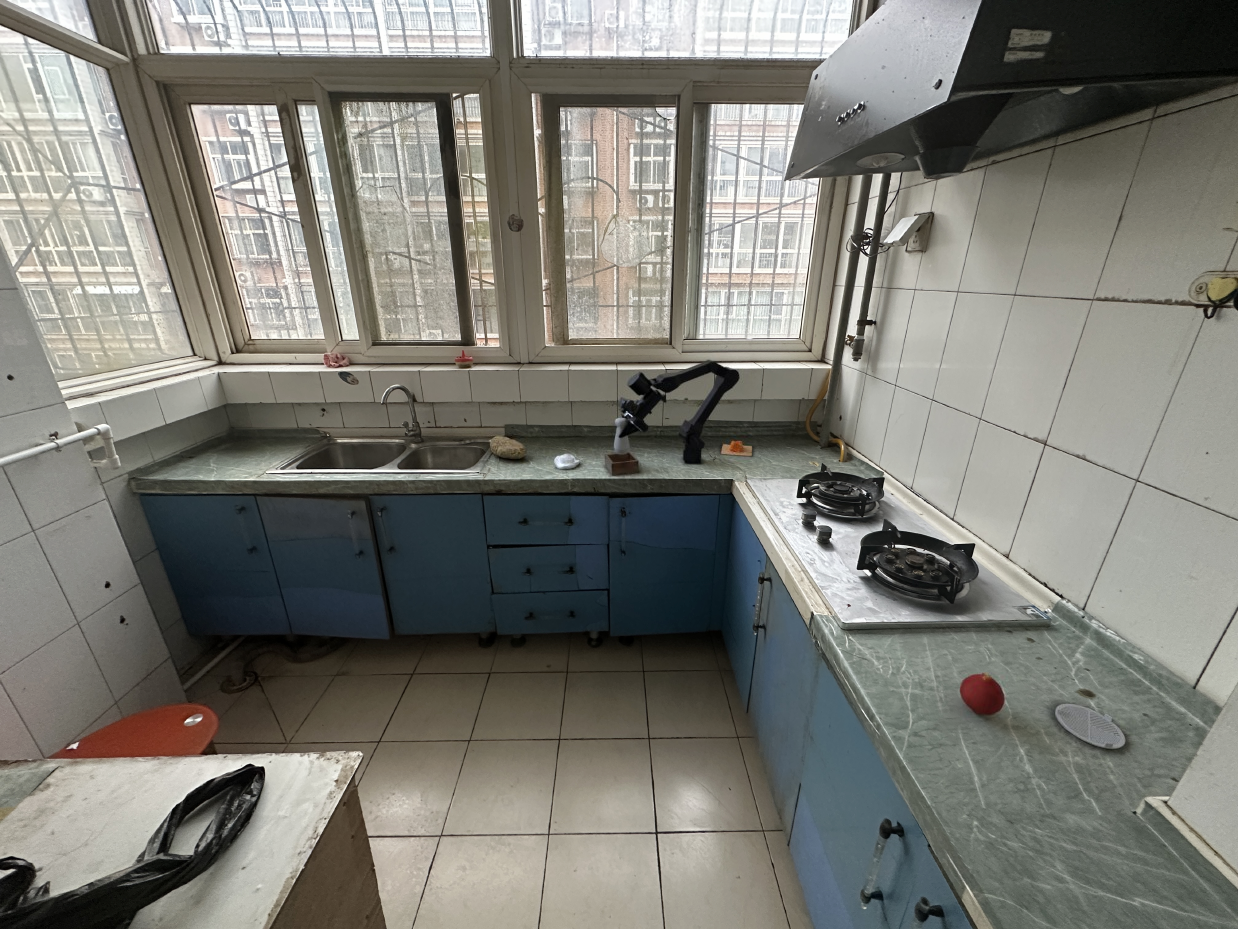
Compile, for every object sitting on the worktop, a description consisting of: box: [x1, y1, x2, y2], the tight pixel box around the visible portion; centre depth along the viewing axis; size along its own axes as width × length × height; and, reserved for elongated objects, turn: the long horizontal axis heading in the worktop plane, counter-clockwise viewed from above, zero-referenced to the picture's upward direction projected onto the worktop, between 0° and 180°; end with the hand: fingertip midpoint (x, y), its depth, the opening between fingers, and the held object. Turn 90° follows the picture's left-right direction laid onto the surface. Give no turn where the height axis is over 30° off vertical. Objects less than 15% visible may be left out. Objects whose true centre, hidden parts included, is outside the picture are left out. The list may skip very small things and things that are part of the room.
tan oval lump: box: [489, 435, 527, 460], centre depth 199 cm, size 13×8×20 cm
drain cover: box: [1054, 703, 1126, 750], centre depth 79 cm, size 8×8×1 cm
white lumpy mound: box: [553, 453, 581, 470], centre depth 189 cm, size 10×4×10 cm
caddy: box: [604, 451, 640, 476], centre depth 185 cm, size 10×10×5 cm
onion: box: [959, 672, 1006, 716], centre depth 81 cm, size 6×6×8 cm
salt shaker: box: [613, 417, 631, 455], centre depth 181 cm, size 6×6×13 cm
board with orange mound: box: [720, 440, 753, 457], centre depth 203 cm, size 12×12×4 cm
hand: (617, 436), depth 180 cm, fingers closed on salt shaker, 3 cm apart
